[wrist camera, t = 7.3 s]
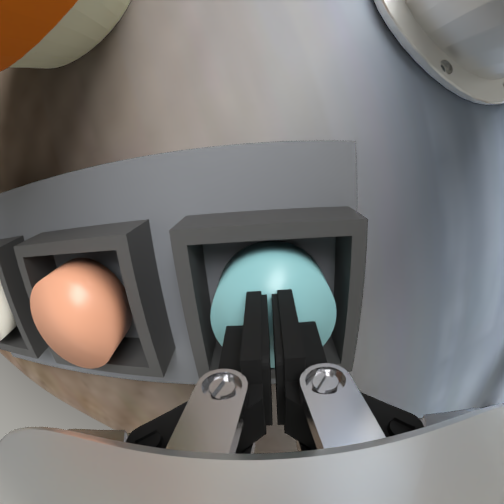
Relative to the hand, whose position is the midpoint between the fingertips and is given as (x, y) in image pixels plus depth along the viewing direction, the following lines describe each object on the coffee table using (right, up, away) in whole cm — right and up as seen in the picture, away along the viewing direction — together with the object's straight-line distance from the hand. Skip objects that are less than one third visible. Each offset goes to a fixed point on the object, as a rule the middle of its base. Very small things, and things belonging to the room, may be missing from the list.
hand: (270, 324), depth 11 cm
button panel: (-9, +1, +5) cm, 10 cm away
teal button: (0, +1, +2) cm, 2 cm away
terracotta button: (-9, 0, +2) cm, 9 cm away
